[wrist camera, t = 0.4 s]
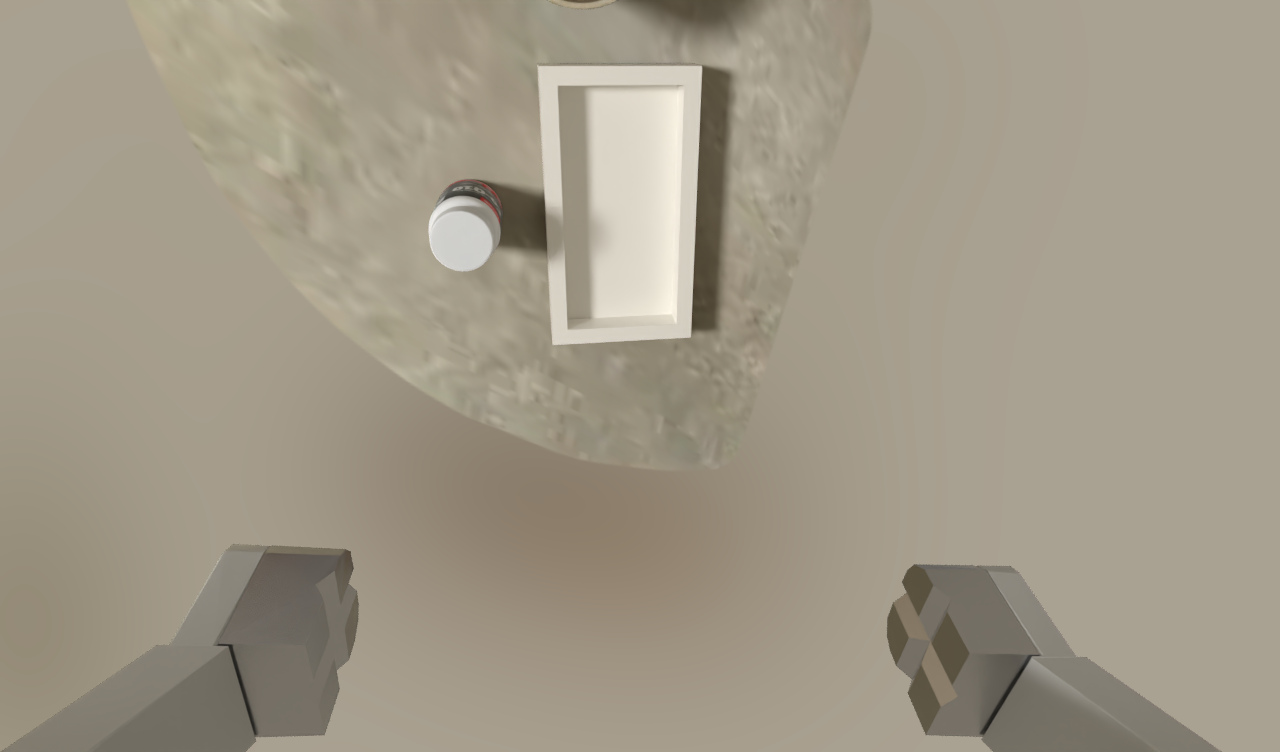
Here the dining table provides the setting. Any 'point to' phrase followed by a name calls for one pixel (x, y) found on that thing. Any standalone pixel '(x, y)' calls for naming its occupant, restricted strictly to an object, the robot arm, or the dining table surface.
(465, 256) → the pill bottle
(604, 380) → the dining table surface
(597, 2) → the flower pot
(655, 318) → the tray
